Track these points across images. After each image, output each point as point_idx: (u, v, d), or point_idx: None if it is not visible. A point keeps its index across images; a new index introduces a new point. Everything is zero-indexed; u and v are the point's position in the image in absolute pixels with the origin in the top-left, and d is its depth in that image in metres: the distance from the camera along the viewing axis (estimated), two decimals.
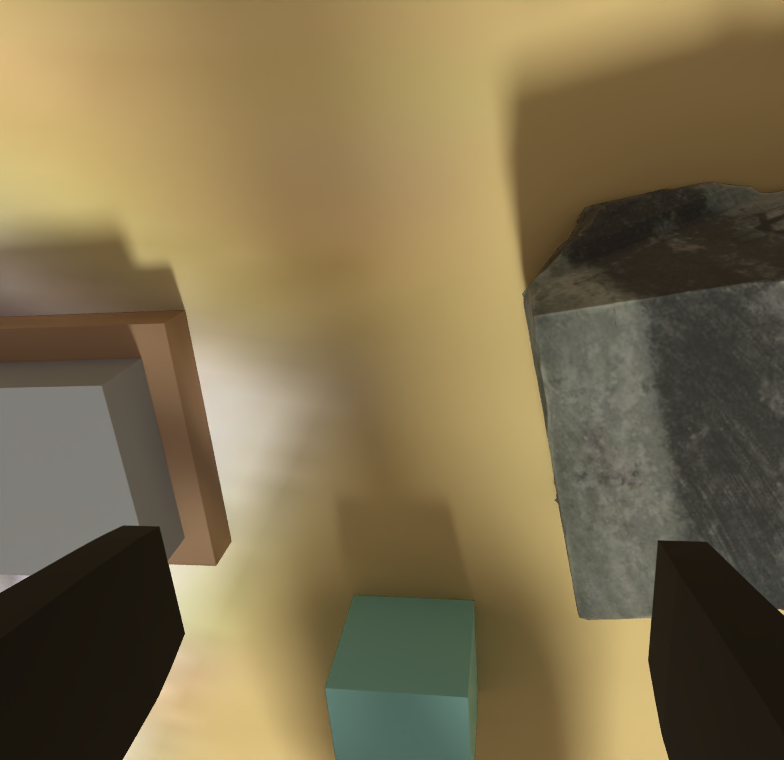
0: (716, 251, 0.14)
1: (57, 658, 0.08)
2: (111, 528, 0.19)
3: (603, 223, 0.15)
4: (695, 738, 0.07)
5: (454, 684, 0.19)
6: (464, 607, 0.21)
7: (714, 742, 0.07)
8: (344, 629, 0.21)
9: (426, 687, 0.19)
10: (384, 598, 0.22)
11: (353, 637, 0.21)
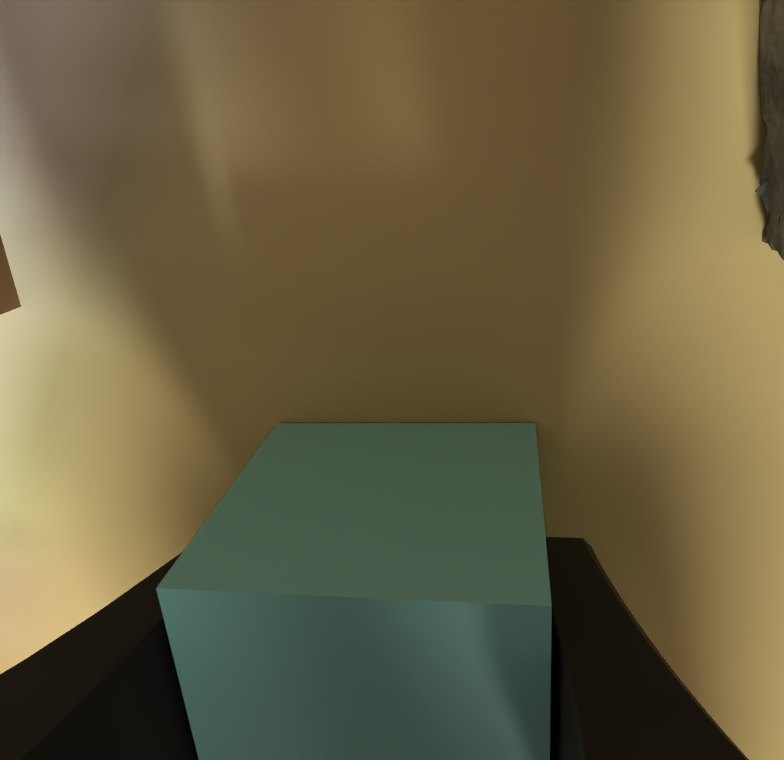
0: None
1: None
2: None
3: None
4: (551, 727, 0.08)
5: (509, 575, 0.07)
6: (515, 436, 0.10)
7: (557, 730, 0.07)
8: (241, 476, 0.09)
9: (432, 583, 0.07)
10: (340, 428, 0.10)
11: (257, 489, 0.09)
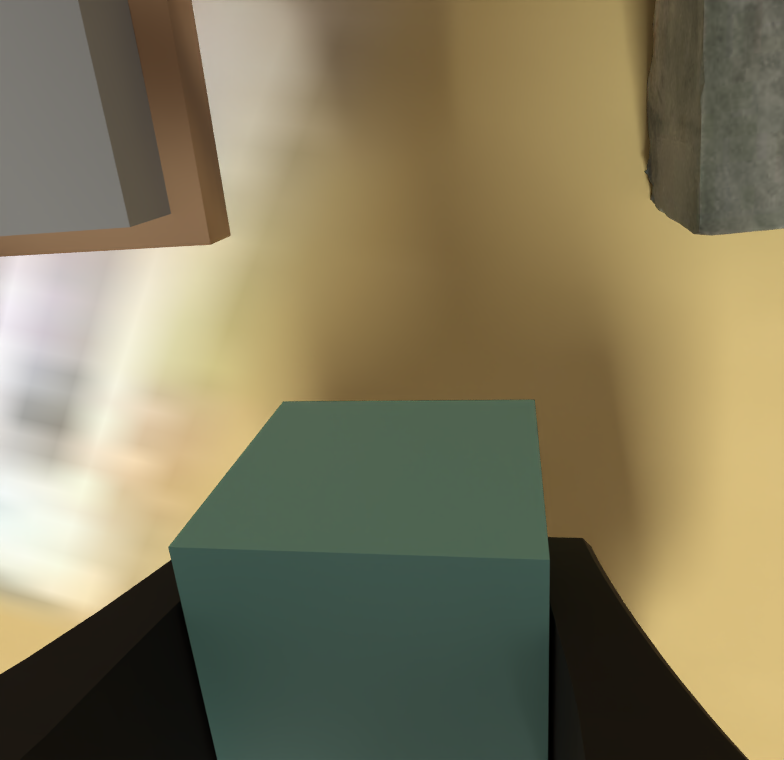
0: None
1: (177, 666, 0.08)
2: (74, 149, 0.14)
3: None
4: (551, 727, 0.08)
5: (508, 534, 0.07)
6: (515, 411, 0.10)
7: (557, 730, 0.07)
8: (248, 448, 0.09)
9: (434, 540, 0.07)
10: (344, 405, 0.11)
11: (264, 459, 0.09)
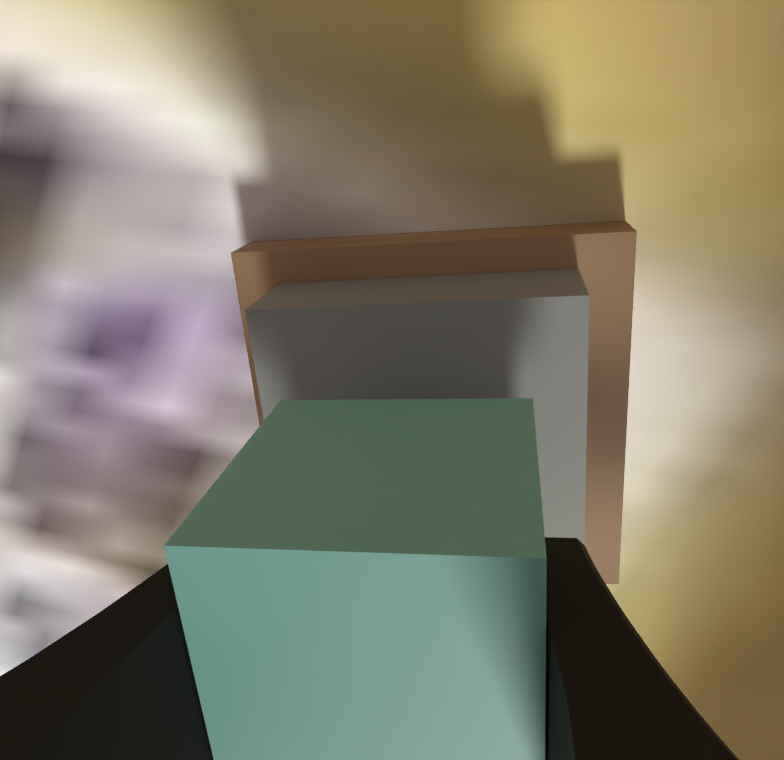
0: None
1: (180, 666, 0.08)
2: None
3: None
4: None
5: (505, 532, 0.07)
6: (513, 410, 0.10)
7: (550, 729, 0.07)
8: (245, 447, 0.09)
9: (430, 538, 0.07)
10: (341, 404, 0.10)
11: (261, 457, 0.09)
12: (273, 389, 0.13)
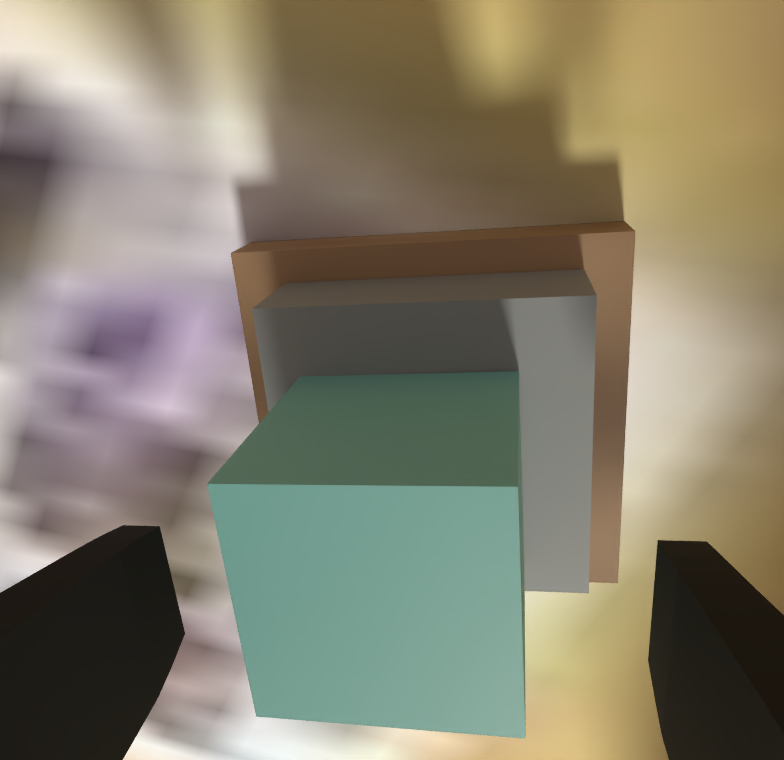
0: None
1: (57, 658, 0.08)
2: (543, 518, 0.13)
3: None
4: (695, 738, 0.07)
5: (486, 469, 0.08)
6: (501, 380, 0.11)
7: (714, 742, 0.07)
8: (270, 412, 0.11)
9: (425, 475, 0.08)
10: (353, 378, 0.12)
11: (284, 420, 0.11)
12: (279, 388, 0.13)
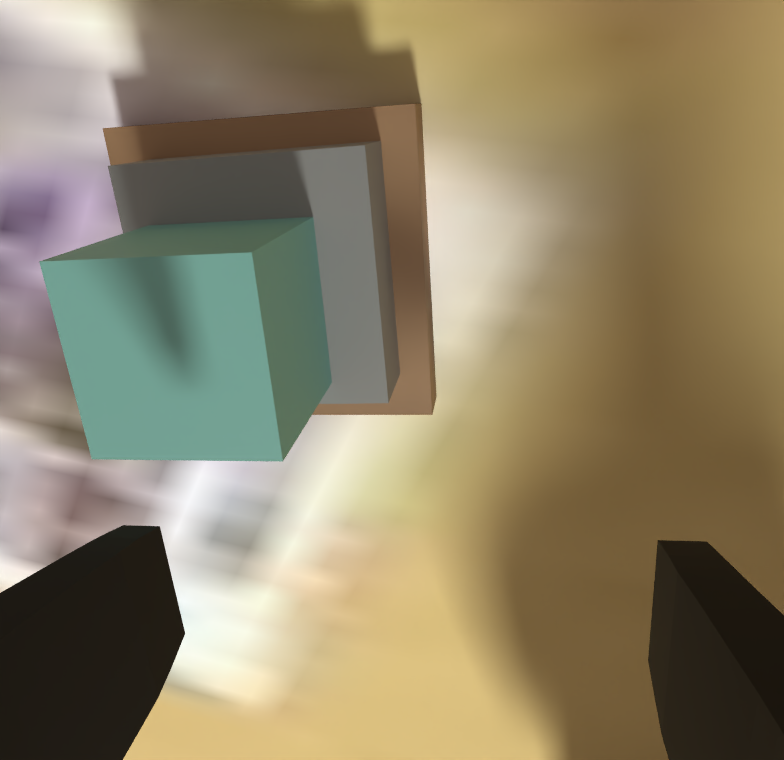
0: None
1: (57, 658, 0.08)
2: (346, 338, 0.16)
3: None
4: (695, 738, 0.07)
5: (238, 248, 0.12)
6: (295, 220, 0.15)
7: (714, 742, 0.07)
8: (111, 238, 0.14)
9: (194, 252, 0.12)
10: (187, 224, 0.15)
11: (118, 240, 0.14)
12: None
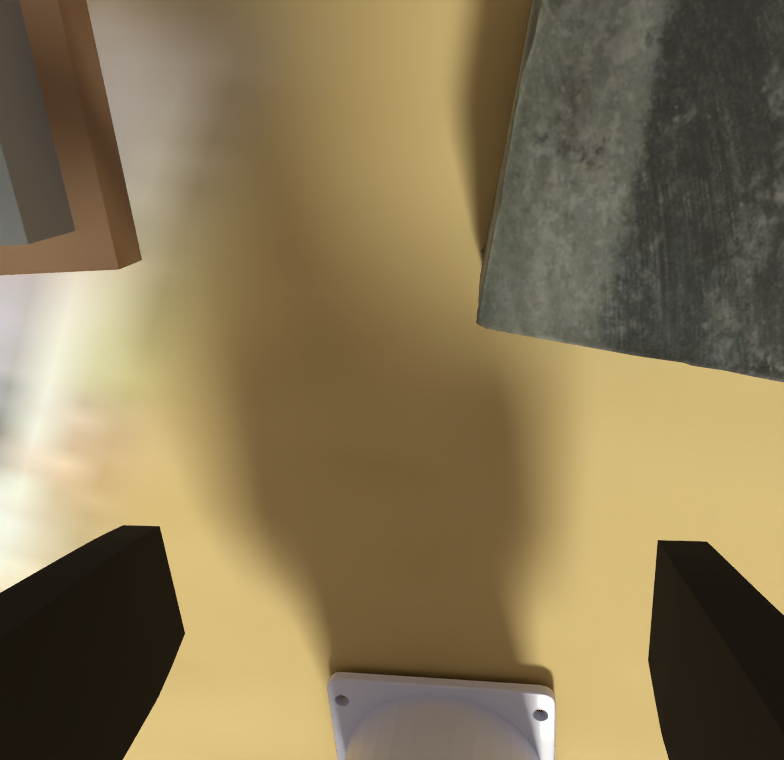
0: None
1: (57, 658, 0.08)
2: None
3: None
4: (695, 738, 0.07)
5: None
6: None
7: (714, 742, 0.07)
8: None
9: None
10: None
11: None
12: None
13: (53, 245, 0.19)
